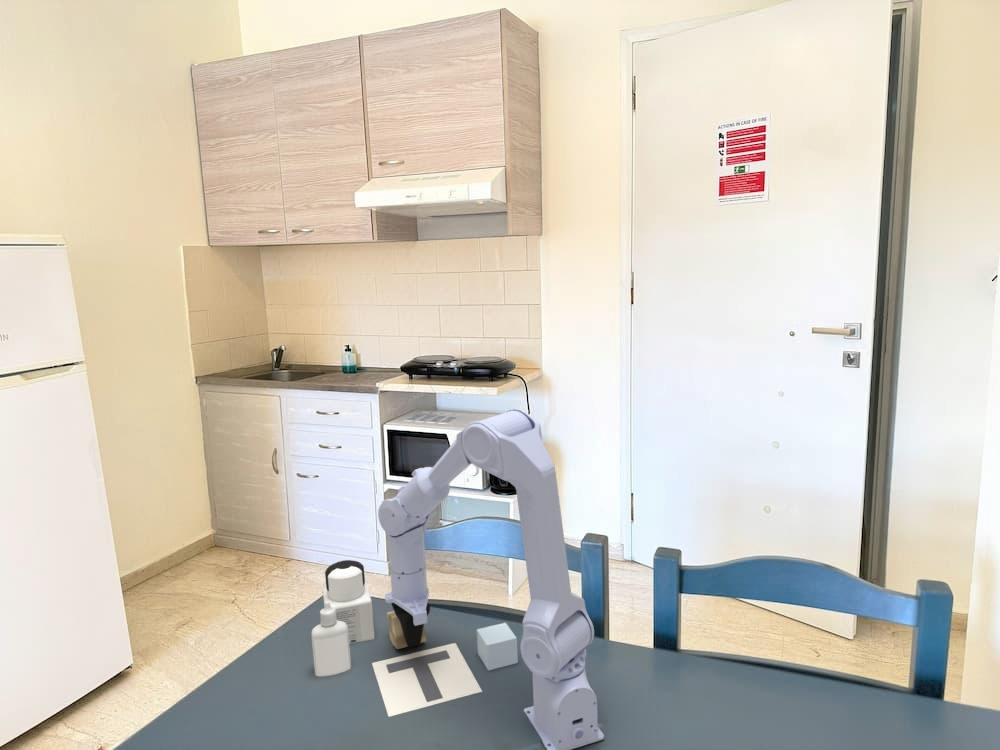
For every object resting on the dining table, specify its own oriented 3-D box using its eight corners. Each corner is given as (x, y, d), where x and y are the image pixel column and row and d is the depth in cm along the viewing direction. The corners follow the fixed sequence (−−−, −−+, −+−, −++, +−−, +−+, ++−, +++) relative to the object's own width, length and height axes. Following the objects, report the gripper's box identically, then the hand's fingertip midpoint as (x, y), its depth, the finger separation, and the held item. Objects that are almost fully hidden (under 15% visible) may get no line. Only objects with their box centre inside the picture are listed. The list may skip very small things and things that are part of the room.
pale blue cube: (518, 666, 106) (516, 637, 105) (488, 674, 104) (486, 645, 103) (506, 650, 110) (505, 622, 109) (478, 657, 109) (476, 629, 108)
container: (326, 628, 119) (320, 560, 117) (369, 619, 121) (364, 552, 119) (328, 651, 112) (322, 579, 110) (374, 642, 114) (369, 571, 112)
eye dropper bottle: (344, 682, 103) (338, 610, 101) (310, 679, 104) (303, 608, 102) (355, 665, 108) (349, 596, 106) (322, 662, 109) (316, 594, 107)
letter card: (482, 695, 99) (482, 691, 99) (388, 720, 94) (388, 716, 94) (455, 646, 112) (455, 642, 112) (372, 666, 107) (371, 662, 107)
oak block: (426, 641, 111) (422, 610, 112) (397, 649, 109) (392, 618, 110) (418, 635, 116) (414, 605, 116) (390, 642, 114) (386, 612, 114)
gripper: (375, 553, 113) (381, 627, 115) (392, 591, 99) (398, 674, 102) (416, 546, 115) (420, 618, 117) (438, 582, 102) (443, 663, 104)
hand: (413, 643), depth 110 cm, fingers closed
